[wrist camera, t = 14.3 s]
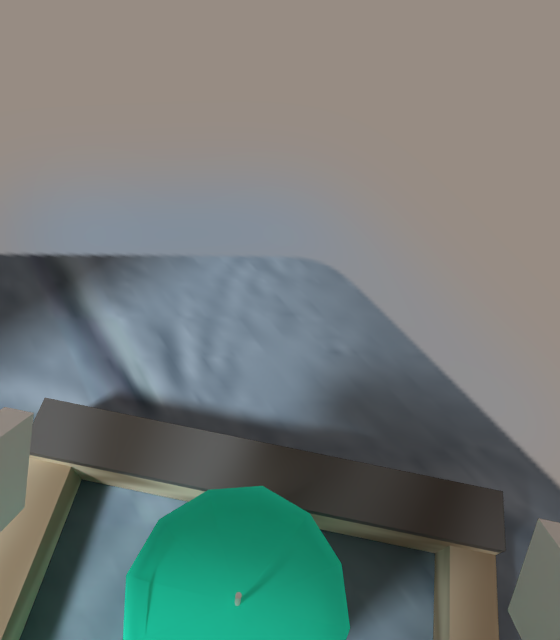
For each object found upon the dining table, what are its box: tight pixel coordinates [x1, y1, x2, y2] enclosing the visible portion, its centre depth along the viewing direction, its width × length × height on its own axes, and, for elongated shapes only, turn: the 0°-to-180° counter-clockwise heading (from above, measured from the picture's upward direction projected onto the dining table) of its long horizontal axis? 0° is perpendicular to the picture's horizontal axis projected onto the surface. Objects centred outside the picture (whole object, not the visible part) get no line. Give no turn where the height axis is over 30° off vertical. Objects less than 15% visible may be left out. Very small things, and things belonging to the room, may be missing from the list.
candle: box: [123, 486, 350, 640], centre depth 17 cm, size 6×6×12 cm
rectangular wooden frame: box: [0, 398, 506, 640], centre depth 21 cm, size 21×14×3 cm, turn 80°
